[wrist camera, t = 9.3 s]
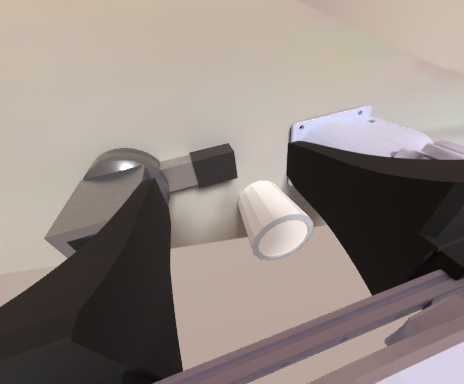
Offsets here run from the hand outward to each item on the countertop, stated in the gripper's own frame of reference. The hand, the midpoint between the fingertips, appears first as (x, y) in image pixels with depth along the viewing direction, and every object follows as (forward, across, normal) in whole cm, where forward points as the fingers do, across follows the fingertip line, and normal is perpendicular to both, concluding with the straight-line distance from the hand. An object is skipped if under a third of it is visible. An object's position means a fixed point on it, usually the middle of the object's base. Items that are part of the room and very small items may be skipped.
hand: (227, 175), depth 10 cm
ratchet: (+9, +5, +4) cm, 11 cm away
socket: (+7, +8, +4) cm, 11 cm away
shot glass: (+10, -5, +11) cm, 15 cm away
